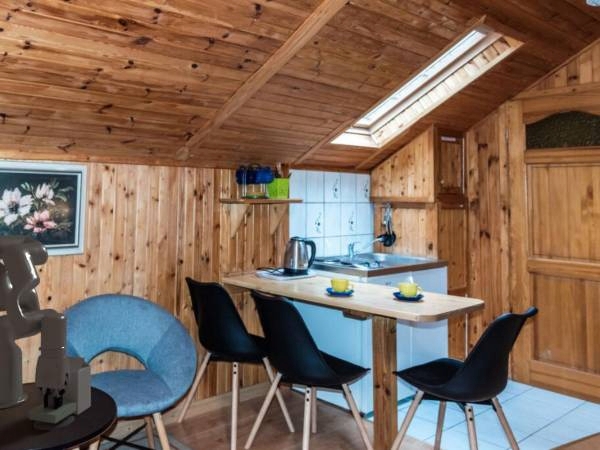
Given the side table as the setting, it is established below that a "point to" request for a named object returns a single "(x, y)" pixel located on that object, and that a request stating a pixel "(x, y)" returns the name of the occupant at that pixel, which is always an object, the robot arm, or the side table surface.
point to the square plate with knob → (52, 411)
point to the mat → (50, 426)
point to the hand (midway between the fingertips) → (53, 406)
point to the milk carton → (79, 384)
